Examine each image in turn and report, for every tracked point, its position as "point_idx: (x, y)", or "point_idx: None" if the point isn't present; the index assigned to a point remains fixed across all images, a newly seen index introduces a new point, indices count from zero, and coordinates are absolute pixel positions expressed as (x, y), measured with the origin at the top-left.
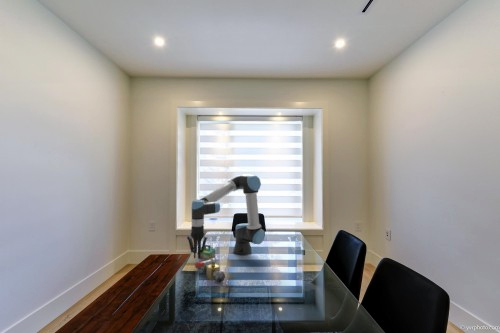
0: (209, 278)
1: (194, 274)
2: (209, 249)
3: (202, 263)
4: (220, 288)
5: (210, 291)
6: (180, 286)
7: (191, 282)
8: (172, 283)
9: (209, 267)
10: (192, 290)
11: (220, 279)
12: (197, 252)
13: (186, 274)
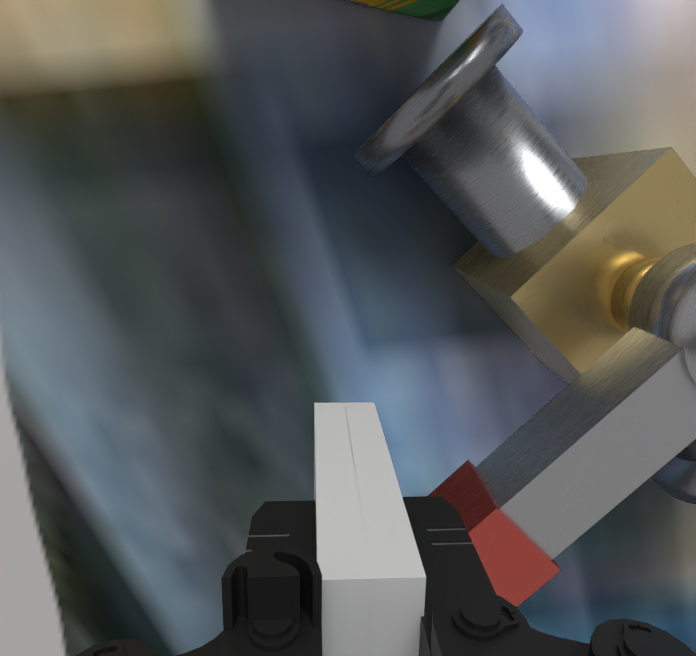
0: (514, 332)
1: (236, 207)
2: None
3: (521, 590)
4: (684, 525)
5: (577, 595)
6: (184, 550)
7: (285, 443)
8: (37, 499)
9: (584, 367)
10: None
11: None
12: (359, 618)
13: (103, 221)
